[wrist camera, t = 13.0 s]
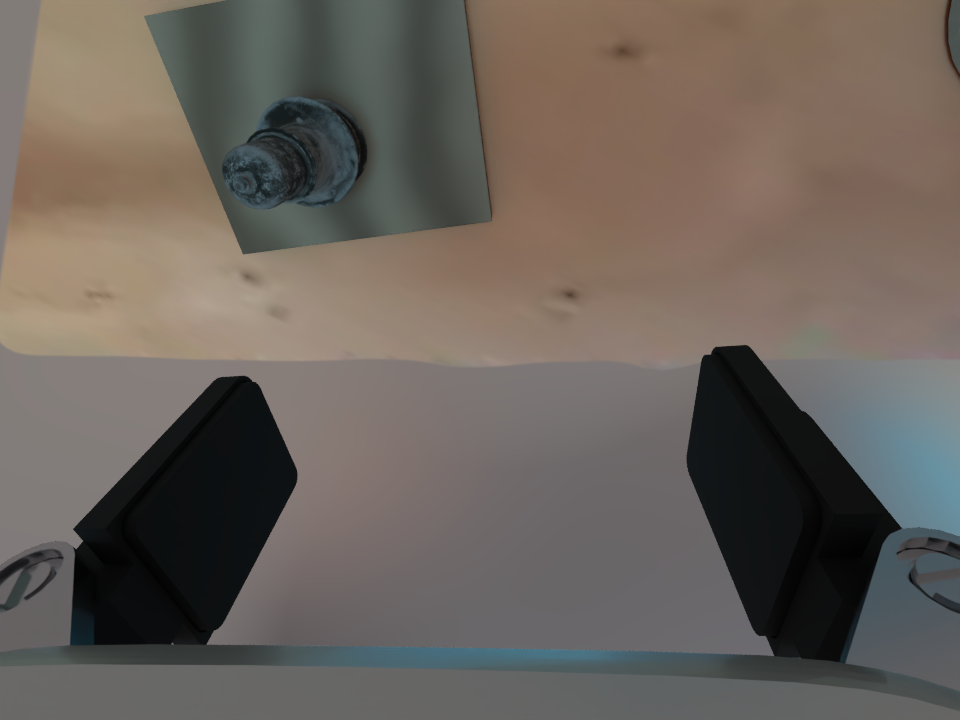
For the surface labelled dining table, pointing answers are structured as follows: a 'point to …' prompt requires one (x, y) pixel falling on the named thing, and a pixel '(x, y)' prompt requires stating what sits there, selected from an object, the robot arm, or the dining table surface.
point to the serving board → (349, 83)
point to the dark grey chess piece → (297, 156)
